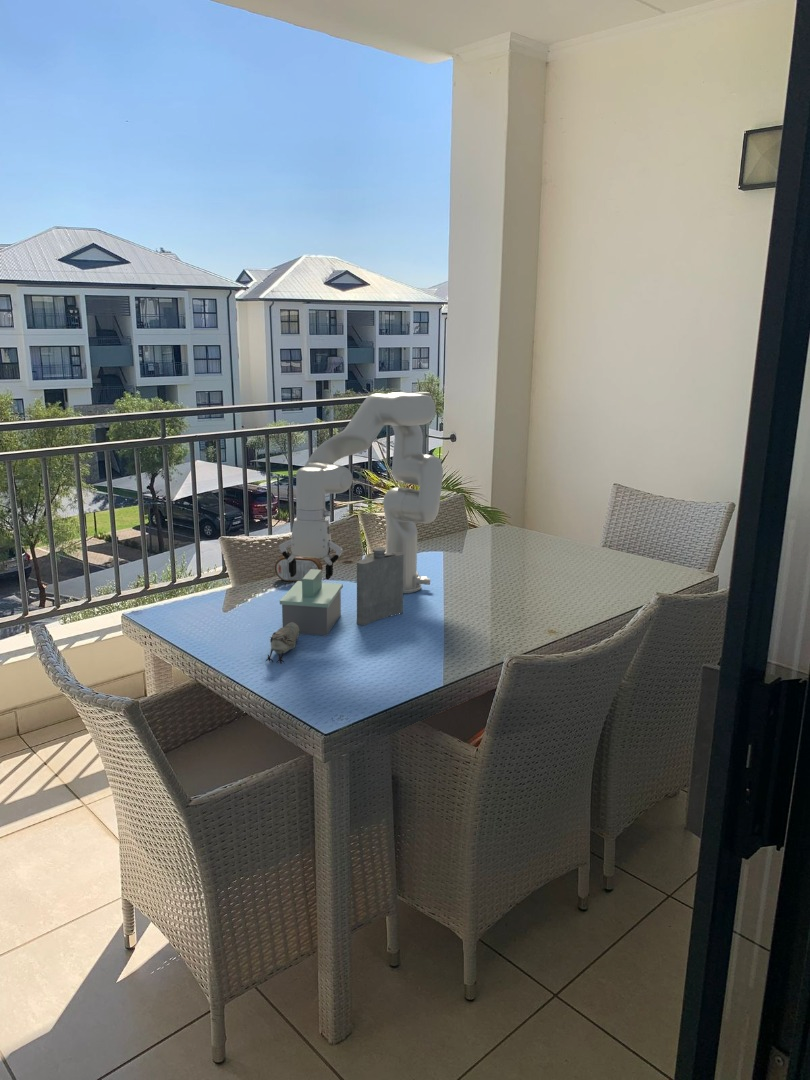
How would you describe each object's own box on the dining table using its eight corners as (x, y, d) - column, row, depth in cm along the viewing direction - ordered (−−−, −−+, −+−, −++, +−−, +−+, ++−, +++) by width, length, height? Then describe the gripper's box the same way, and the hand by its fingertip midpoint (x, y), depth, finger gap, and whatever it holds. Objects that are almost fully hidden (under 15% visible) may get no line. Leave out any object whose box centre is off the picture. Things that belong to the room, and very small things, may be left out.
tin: (322, 580, 251) (322, 555, 249) (320, 583, 248) (320, 558, 246) (276, 578, 252) (275, 553, 250) (274, 581, 249) (273, 556, 247)
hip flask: (361, 626, 213) (362, 555, 208) (352, 622, 216) (352, 552, 211) (404, 612, 224) (406, 545, 219) (395, 609, 227) (396, 542, 222)
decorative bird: (305, 641, 203) (305, 614, 201) (284, 667, 187) (283, 638, 185) (285, 639, 204) (284, 612, 202) (263, 665, 188) (262, 636, 186)
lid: (342, 590, 220) (342, 566, 218) (328, 611, 204) (327, 585, 202) (297, 587, 222) (297, 563, 220) (279, 607, 206) (279, 582, 204)
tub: (340, 614, 222) (340, 587, 220) (326, 635, 206) (326, 606, 204) (299, 611, 223) (298, 584, 221) (282, 632, 208) (282, 603, 206)
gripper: (346, 513, 209) (345, 575, 213) (283, 509, 212) (283, 570, 216) (339, 519, 202) (339, 583, 206) (274, 515, 204) (275, 578, 209)
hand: (310, 576), depth 211 cm, fingers open, 9 cm apart
